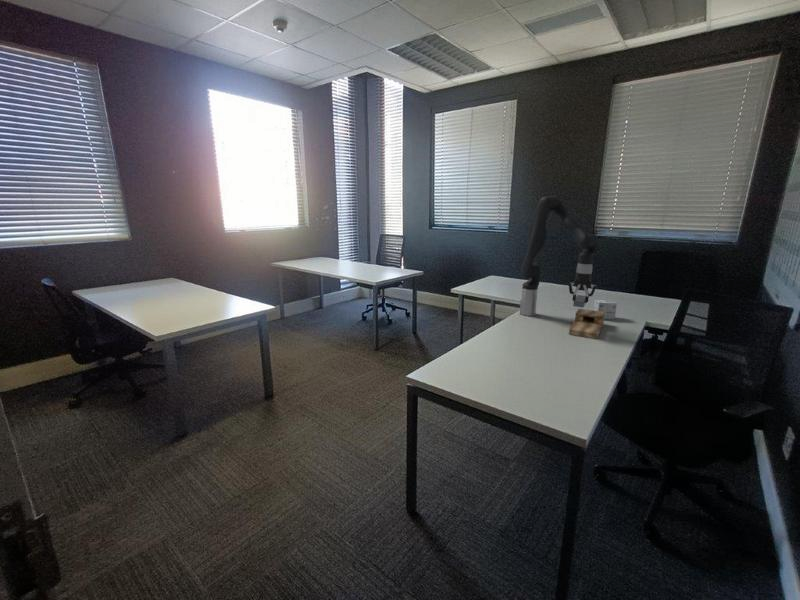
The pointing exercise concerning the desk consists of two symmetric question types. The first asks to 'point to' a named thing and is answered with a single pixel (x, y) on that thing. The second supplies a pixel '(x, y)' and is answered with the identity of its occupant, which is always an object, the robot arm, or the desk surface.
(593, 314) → the wooden box
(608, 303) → the light bulb box
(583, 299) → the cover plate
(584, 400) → the desk surface
